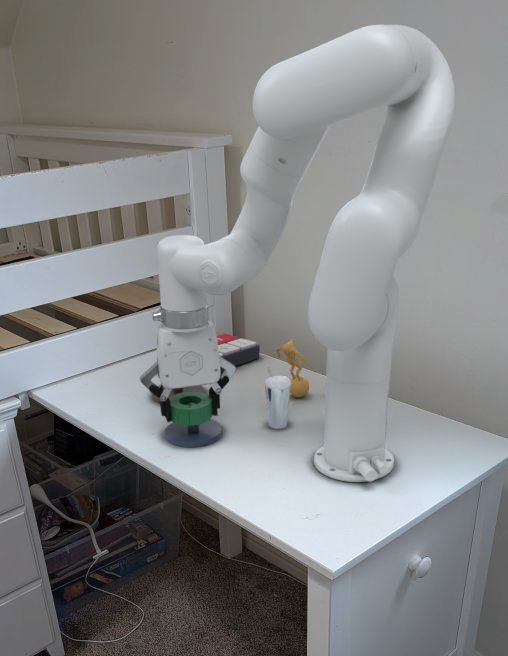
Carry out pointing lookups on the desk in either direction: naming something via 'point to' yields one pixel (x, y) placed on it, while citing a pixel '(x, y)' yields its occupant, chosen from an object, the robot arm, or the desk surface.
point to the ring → (191, 408)
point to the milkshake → (277, 400)
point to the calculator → (237, 350)
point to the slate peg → (193, 433)
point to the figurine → (297, 383)
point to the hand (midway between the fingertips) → (190, 415)
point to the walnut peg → (181, 391)
